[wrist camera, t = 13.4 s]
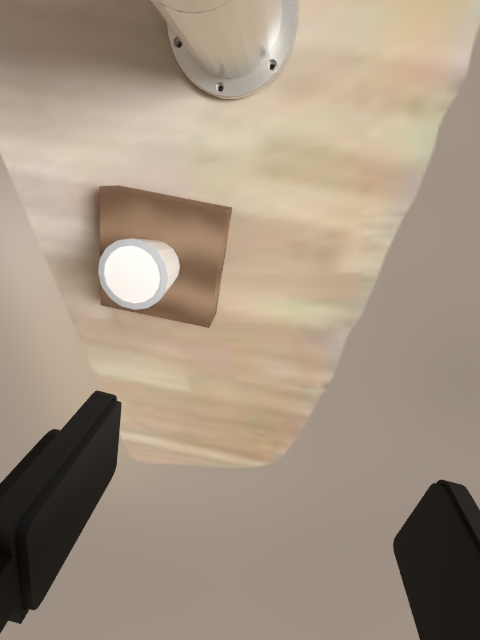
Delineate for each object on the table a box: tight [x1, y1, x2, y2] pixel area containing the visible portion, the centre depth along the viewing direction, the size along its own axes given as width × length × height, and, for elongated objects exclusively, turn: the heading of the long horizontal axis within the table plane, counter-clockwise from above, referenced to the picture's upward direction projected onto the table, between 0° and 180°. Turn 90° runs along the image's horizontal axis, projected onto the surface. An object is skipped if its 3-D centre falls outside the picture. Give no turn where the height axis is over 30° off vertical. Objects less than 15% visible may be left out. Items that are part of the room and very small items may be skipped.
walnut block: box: [100, 186, 232, 328], centre depth 40 cm, size 14×14×5 cm
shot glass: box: [98, 238, 180, 310], centre depth 34 cm, size 7×7×7 cm
